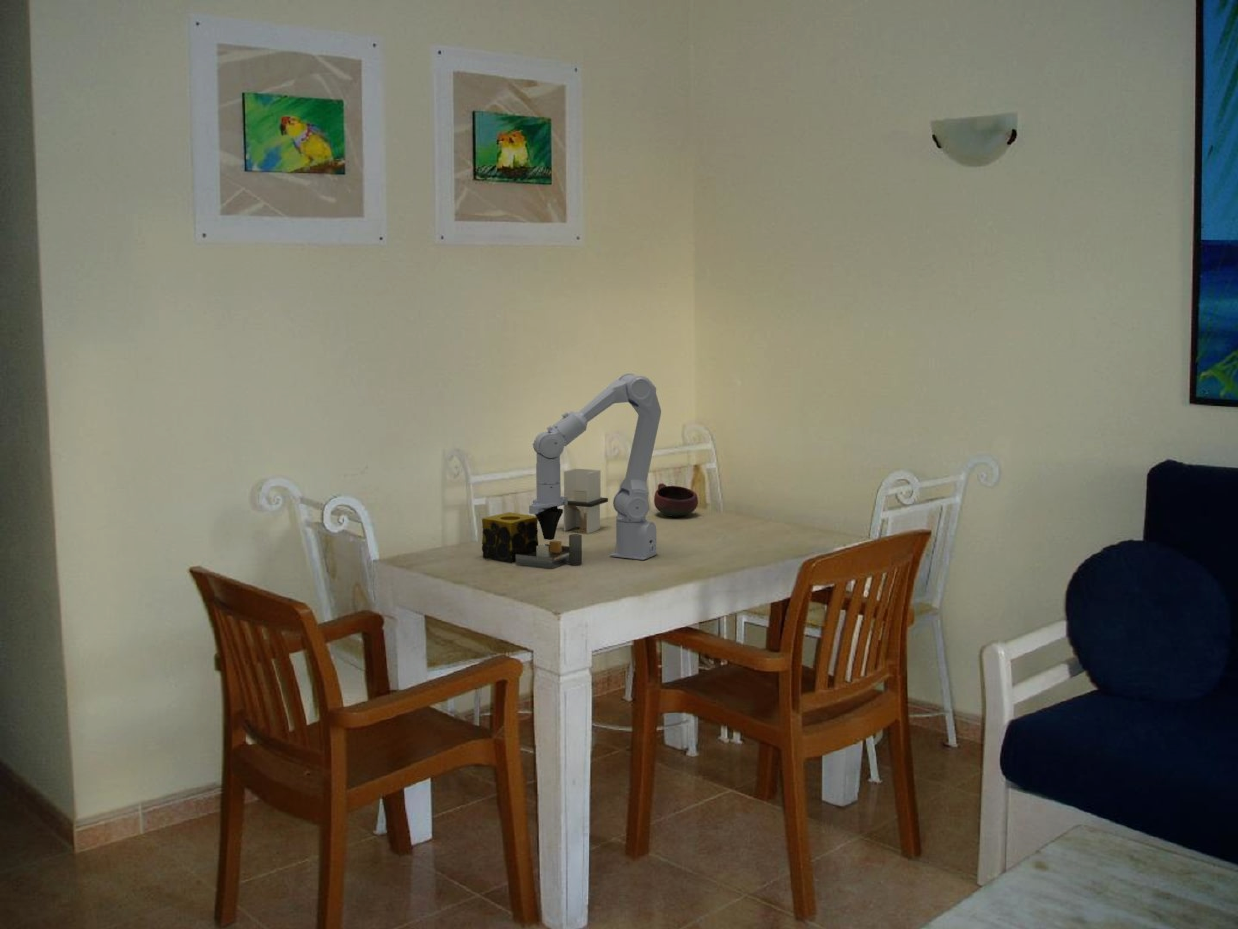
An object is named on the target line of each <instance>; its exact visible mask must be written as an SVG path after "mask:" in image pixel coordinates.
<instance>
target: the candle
mask: <svg viewBox="0 0 1238 929" xmlns="http://www.w3.org/2000/svg"><path fill="white" fill-rule="evenodd" d="M481 523H482V525H481V526H482V541H481V542H482V543H481V544H482V546H481V551H482V557H483V558H484V559H488V560H492V561H498V562H504V563H505V562H506V563H509V564H510V563H516V554H523V555H528V554H530V553H533V552H536V546H538V545H539V539H538V538H539V534H538V533H539V529H538V523H539V521H538V519H537V517H536V516H535V515H528V514H523V513H516V512H510V511H508V512H505V513H500V514H495V515H490V516H486V517H482V518H481Z"/></svg>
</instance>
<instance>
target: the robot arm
mask: <svg viewBox="0 0 1238 929" xmlns="http://www.w3.org/2000/svg"><path fill="white" fill-rule="evenodd" d="M621 403H629V404H630V405H631V406H632V408H633V409H634V411H635V412H636V413H637V421H636V427H635V430H634V435H633V440H632V443H631V444H632V445H631V448H630V455H629V457H628V458H629V459H628V464H627V468H626V472H625V476H624V479H623V480H622V482H621V483H620V485H619V489H618V491H617V492H616V493H615V495H614V497H613V500H612V506H613V509H614V510H615V512H617V514H616V517H615V518H616V520H615V522H616V523H615V534H616V536H615V538H616V541H615V544H616V545H615V550H616V551H614V552H612V553H610V554H609V557H613V558H614V557H615V558H623V559H625V558H626V559H632V560H633V559H634V560H641V561H645V560H647V559H650V558H651V557H654V556H657V555H658V554H659V552H658V551H657V526H656V524H655V523H654V521H650V520H647V519H646V518H647V515H648V513H649V512H650V511H649V510H650V504H649V500H648V499H649V489H648V484H647V480H648V477H649V472H650V471H649V470H650V466H651V461H652V457H653V453H654V448H655V443H656V438H657V434H658V429H659V424H660V421H661V420H660V419H661V415H662V410H661V405H660V402H659V399H658V396H657V387H656V386H655V384H654V383H653V382H652V381H651V380H650V378H648V377H646V376H645V375H644V376H643V375H635V374H633V373H625V374H623V375H621V376H619V378H618V379H615V380H613V381H612V382H611V383H610V384H609V385H608V386H607V387H605V388H604V389H603V390H602V391H601V392H600V393H598V394H597V395H596V396H595V397H594V398H593V399H592V400H591V401H589V402H588V403H587V404H586V405H585V406H584V407H582V408H581V409H580V410H579V411H574V410H571V411H569V412H564V413H563V414H562V415H561V416H562V418H561V419H559V420H558V421H557V422H556V423H554V424H553V425H549V426H548V427H547V428H546V429H547V431H544V432H543V431H542V432H539V434H537V435H536V436H535V439H533V440H534V441H533V443H532V447H533V449H534V452H535V453H536V464H535V465H536V466H535V468H536V469H535V472H536V473H535V475H536V476H535V480H536V485H535V486H536V499H533V500H532V504H530V505H529V506H528V513H529V514H531V515H532V514H533V515H534V516H536V517H537V519H538V523H539V526H540V529H541V533H542V536H543V540H548V541H553V540H554V539H555V536H556V532H557V527H558V524H559V522H560V519H561V517H562V515H563V514H564V508H559V507H561V506H564V505H568V497H564V496H562V495H561V489H562V488H561V455H562V453H564V452H563V451H564V448H565V447H567V446H568V445H569V444H570V443H572V442H573V441H574V440H576V439H577V438H578V437H579V436H581V435H582V434H583V433H584V432H586V431H587V427H588V426H587V425H588V424H589V422H590V421H591V420H593V419H595V418H596V417H597V416H598V415H600V414H601V413H603V412H605V411H606V410H607V409H608V408H609V407H611V406H613V405H614V404H621Z"/></svg>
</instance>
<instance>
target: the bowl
mask: <svg viewBox="0 0 1238 929" xmlns="http://www.w3.org/2000/svg"><path fill="white" fill-rule="evenodd" d="M698 498H699V497H698V495H697V493H696V492H695V491H693V490H692V489H690V488H687V487H683V486H677V485H666V484H664V483H659V484H658V485H657V489H656V491H655V493H654V499H653V500H654V501H653V502H654V506H655V508H656V509H657V511H659V513H661V514H663V515H667V516H669V517H673V516H680V517H685V516H688V515H690V514H693V512H694V511H696V509H697V507H698V504H699V499H698ZM684 515H685V516H684Z"/></svg>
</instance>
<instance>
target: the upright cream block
mask: <svg viewBox="0 0 1238 929" xmlns="http://www.w3.org/2000/svg"><path fill="white" fill-rule="evenodd" d="M536 553H537V556H540V557H548V556H549V546H546V545H545V544H538V546H536Z"/></svg>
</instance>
